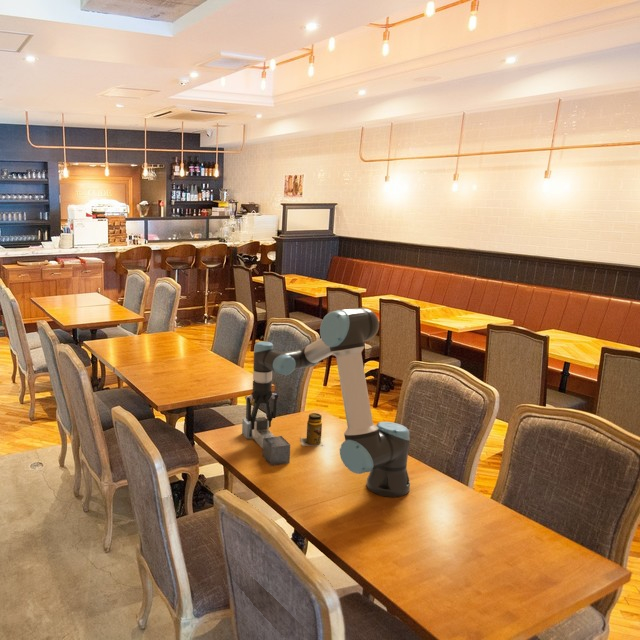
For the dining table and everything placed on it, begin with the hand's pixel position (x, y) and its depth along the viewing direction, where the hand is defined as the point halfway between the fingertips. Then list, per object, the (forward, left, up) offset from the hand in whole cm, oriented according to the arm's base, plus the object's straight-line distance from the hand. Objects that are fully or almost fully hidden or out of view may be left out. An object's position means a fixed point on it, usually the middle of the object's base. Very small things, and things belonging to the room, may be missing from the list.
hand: (260, 435), depth 240 cm
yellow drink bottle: (-7, -20, -3) cm, 21 cm away
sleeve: (-17, 0, -3) cm, 17 cm away
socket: (+8, 0, -3) cm, 8 cm away
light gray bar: (-3, 0, -2) cm, 3 cm away
